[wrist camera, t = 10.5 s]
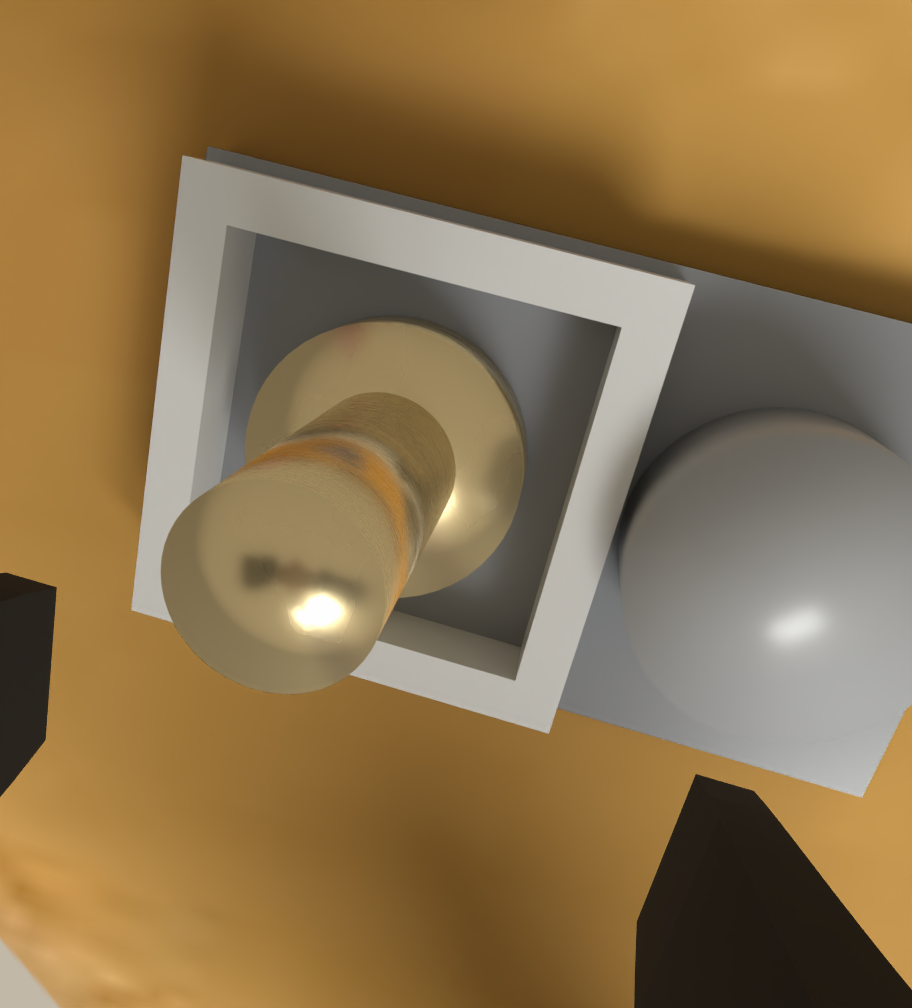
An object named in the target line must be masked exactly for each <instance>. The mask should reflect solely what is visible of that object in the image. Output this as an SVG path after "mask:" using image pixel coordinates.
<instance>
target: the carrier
mask: <svg viewBox="0 0 912 1008" xmlns="http://www.w3.org/2000/svg"><path fill="white" fill-rule="evenodd" d="M379 316H406V317H413V318H418V319H423V320H427V321H430V322H433V323H436V324H439V325H442V326H444V327H446V328H448V329H450V330H452V331H454V332H456V333H458V334H460V335H462V336H463V337H465V338H466V339H468V340H469V341H471V342H472V343H474V344H475V345H476V346H477V347H478V348H480V349H481V350H482V351H483V352H484V353H485V354H486V355H487V356H488V357H489V358H490V359H491V360H492V361H493V362H494V363H495V365H496V366H497V367H498V368H499V369H500V370H501V372H502V373H503V375H504V376H505V378H506V379H507V381H508V383H509V384H510V386H511V388H512V390H513V392H514V394H515V396H516V398H517V400H518V402H519V405H520V408H521V411H522V414H523V417H524V422H525V428H526V433H527V445H528V457H527V469H526V474H525V478H524V483H523V487H522V491H521V495H520V499H519V503H518V507H517V510H516V512H515V515H514V518H513V520H512V523H511V525H510V527H509V529H508V531H507V533H506V534H505V536H504V538H503V540H502V541H501V542H500V544H499V545H498V547H497V548H496V549H495V551H494V552H493V553H492V554H491V555H490V556H489V557H488V558H487V559H486V561H485V562H484V563H483V564H482V565H481V566H479V567H478V568H477V569H475V570H474V571H473V572H472V573H470V574H469V575H468V576H466V577H464V578H463V579H461V580H459V581H458V582H456V583H454V584H452V585H450V586H448V587H445V588H443V589H440V590H438V591H435V592H431V593H427V594H424V595H419V596H412V597H405V598H398V600H397V602H396V604H395V606H394V608H393V610H392V612H391V614H390V616H389V618H388V620H387V621H386V623H385V625H384V627H383V629H382V631H381V633H380V635H379V637H378V639H377V641H376V643H375V645H374V647H373V648H372V650H371V652H370V653H369V654H368V656H367V657H366V659H365V660H364V661H363V662H362V663H361V664H360V665H359V666H358V667H357V669H356V670H354V671H353V672H352V673H351V674H349V675H352V676H355V677H359V678H362V679H366V680H369V681H372V682H376V683H379V684H382V685H386V686H389V687H393V688H396V689H399V690H403V691H406V692H409V693H413V694H416V695H420V696H423V697H426V698H430V699H433V700H436V701H440V702H443V703H447V704H450V705H453V706H457V707H460V708H463V709H467V710H470V711H474V712H477V713H480V714H484V715H487V716H490V717H494V718H497V719H501V720H504V721H507V722H511V723H514V724H518V725H521V726H524V727H528V728H531V729H534V730H538V731H541V732H545V733H548V734H549V731H550V728H551V725H552V722H553V719H554V716H555V713H556V710H557V708H559V709H562V710H565V711H569V712H572V713H576V714H579V715H582V716H586V717H589V718H593V719H596V720H599V721H603V722H606V723H610V724H613V725H616V726H620V727H623V728H627V729H630V730H633V731H637V732H640V733H644V734H647V735H650V736H654V737H657V738H661V739H664V740H667V741H671V742H674V743H678V744H681V745H684V746H688V747H691V748H695V749H698V750H701V751H705V752H708V753H712V754H715V755H719V756H722V757H725V758H729V759H732V760H736V761H739V762H742V763H746V764H749V765H753V766H756V767H759V768H763V769H766V770H770V771H773V772H776V773H780V774H783V775H787V776H790V777H793V778H797V779H800V780H804V781H807V782H810V783H814V784H817V785H821V786H824V787H827V788H831V789H834V790H838V791H841V792H844V793H848V794H851V795H855V796H858V797H861V798H862V796H863V794H864V792H865V790H866V788H867V786H868V784H869V782H870V780H871V778H872V776H873V774H874V772H875V770H876V768H877V766H878V764H879V762H880V760H881V758H882V756H883V754H884V752H885V750H886V748H887V746H888V744H889V742H890V740H891V738H892V736H893V734H894V732H895V730H896V728H897V726H898V724H899V722H900V720H901V718H902V716H903V714H904V712H905V710H906V709H907V708H908V707H909V706H911V705H912V323H908V322H904V321H900V320H896V319H892V318H888V317H884V316H880V315H877V314H873V313H869V312H865V311H861V310H857V309H853V308H849V307H845V306H841V305H837V304H833V303H829V302H825V301H821V300H817V299H813V298H809V297H805V296H801V295H797V294H793V293H789V292H785V291H781V290H778V289H774V288H770V287H766V286H762V285H758V284H754V283H750V282H746V281H742V280H738V279H734V278H730V277H726V276H722V275H718V274H714V273H710V272H706V271H702V270H698V269H694V268H690V267H686V266H682V265H678V264H675V263H671V262H667V261H663V260H659V259H655V258H651V257H647V256H643V255H639V254H635V253H631V252H627V251H623V250H619V249H615V248H611V247H607V246H603V245H599V244H595V243H591V242H587V241H583V240H579V239H576V238H572V237H568V236H564V235H560V234H556V233H552V232H548V231H544V230H540V229H536V228H532V227H528V226H524V225H520V224H516V223H512V222H508V221H504V220H500V219H496V218H492V217H488V216H484V215H480V214H476V213H473V212H469V211H465V210H461V209H457V208H453V207H449V206H445V205H441V204H437V203H433V202H429V201H425V200H421V199H417V198H413V197H409V196H405V195H401V194H397V193H393V192H389V191H385V190H381V189H377V188H374V187H370V186H366V185H362V184H358V183H354V182H350V181H346V180H342V179H338V178H334V177H330V176H326V175H322V174H318V173H314V172H310V171H306V170H302V169H298V168H294V167H290V166H286V165H282V164H278V163H274V162H271V161H267V160H263V159H259V158H255V157H251V156H247V155H243V154H239V153H235V152H231V151H227V150H223V149H218V148H214V147H210V146H207V153H206V160H204V159H199V158H194V157H189V156H184V155H182V164H181V173H180V182H179V191H178V199H177V208H176V217H175V226H174V235H173V244H172V253H171V262H170V271H169V279H168V288H167V297H166V306H165V315H164V324H163V333H162V342H161V351H160V359H159V368H158V377H157V386H156V395H155V404H154V413H153V422H152V430H151V439H150V448H149V457H148V466H147V475H146V484H145V493H144V502H143V510H142V519H141V528H140V537H139V546H138V555H137V564H136V573H135V582H134V590H133V599H132V608H131V610H133V611H136V612H139V613H143V614H146V615H150V616H153V617H156V618H160V619H163V620H166V621H170V622H173V621H172V619H171V617H170V615H169V612H168V609H167V606H166V603H165V600H164V596H163V591H162V586H161V573H160V572H161V558H162V553H163V548H164V544H165V542H166V539H167V536H168V533H169V531H170V530H171V528H172V526H173V524H174V522H175V521H176V519H177V518H178V517H179V515H180V514H181V513H182V511H183V510H184V509H185V508H186V507H187V506H188V505H189V504H190V503H192V502H193V501H194V500H195V499H197V498H198V497H199V496H201V495H202V494H204V493H205V492H207V491H208V490H210V489H211V488H213V487H214V486H216V485H217V484H219V483H220V482H222V481H223V480H225V479H226V478H227V477H229V476H230V475H232V474H233V473H235V472H236V471H238V470H239V469H241V468H242V467H244V466H245V439H246V429H247V425H248V421H249V417H250V412H251V410H252V407H253V404H254V402H255V399H256V397H257V395H258V393H259V391H260V389H261V387H262V386H263V384H264V382H265V380H266V379H267V378H268V376H269V375H270V374H271V372H272V371H273V370H274V368H275V367H276V366H277V365H278V364H279V363H280V362H281V361H282V360H283V359H284V358H285V357H286V356H287V355H288V354H289V353H290V352H292V351H293V350H295V349H296V348H297V347H299V346H300V345H301V344H303V343H304V342H306V341H308V340H310V339H312V338H314V337H315V336H317V335H319V334H322V333H325V332H327V331H330V330H333V329H335V328H338V327H341V326H344V325H346V324H349V323H352V322H355V321H357V320H362V319H367V318H371V317H379Z"/></svg>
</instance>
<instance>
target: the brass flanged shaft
mask: <svg viewBox="0 0 912 1008" xmlns="http://www.w3.org/2000/svg"><path fill="white" fill-rule="evenodd" d="M527 457H528V445H527V433H526V428H525V422H524V417H523V414H522V411H521V408H520V405H519V402H518V400H517V398H516V396H515V394H514V392H513V390H512V388H511V386H510V384H509V383H508V381H507V379H506V378H505V376H504V375H503V373H502V372H501V370H500V369H499V368H498V367H497V366H496V365H495V363H494V362H493V361H492V360H491V359H490V358H489V357H488V356H487V355H486V354H485V353H484V352H483V351H482V350H481V349H480V348H478V347H477V346H476V345H475V344H474V343H472V342H471V341H469V340H468V339H466V338H465V337H463V336H462V335H460V334H458V333H456V332H454V331H452V330H450V329H448V328H446V327H444V326H442V325H439V324H436V323H433V322H430V321H427V320H423V319H418V318H413V317H406V316H379V317H371V318H367V319H362V320H357V321H355V322H352V323H349V324H346V325H344V326H341V327H338V328H335V329H333V330H330V331H327V332H325V333H322V334H319V335H317V336H315V337H314V338H312V339H310V340H308V341H306V342H304V343H303V344H301V345H300V346H299V347H297V348H296V349H295V350H293V351H292V352H290V353H289V354H288V355H287V356H286V357H285V358H284V359H283V360H282V361H281V362H280V363H279V364H278V365H277V366H276V367H275V368H274V370H273V371H272V372H271V374H270V375H269V376H268V378H267V379H266V380H265V382H264V384H263V386H262V387H261V389H260V391H259V393H258V395H257V397H256V399H255V402H254V404H253V407H252V410H251V412H250V417H249V421H248V425H247V429H246V439H245V466H244V467H242V468H241V469H239V470H238V471H236V472H235V473H233V474H232V475H230V476H229V477H227V478H226V479H225V480H223V481H222V482H220V483H219V484H217V485H216V486H214V487H213V488H211V489H210V490H208V491H207V492H205V493H204V494H202V495H201V496H199V497H198V498H197V499H195V500H194V501H193V502H192V503H190V504H189V505H188V506H187V507H186V508H185V509H184V510H183V511H182V513H181V514H180V515H179V517H178V518H177V519H176V521H175V522H174V524H173V526H172V528H171V530H170V531H169V533H168V536H167V539H166V542H165V544H164V548H163V553H162V558H161V572H160V573H161V586H162V591H163V596H164V600H165V603H166V606H167V609H168V612H169V615H170V617H171V619H172V621H173V623H174V625H175V627H176V629H177V630H178V632H179V633H180V635H181V637H182V638H183V639H184V641H185V642H186V643H187V645H188V646H189V647H190V648H191V650H192V651H193V652H194V653H195V654H196V655H197V656H198V657H199V658H200V659H201V660H202V661H204V662H205V663H206V664H207V665H209V666H210V667H211V668H212V669H214V670H215V671H217V672H218V673H220V674H221V675H223V676H224V677H226V678H228V679H230V680H232V681H234V682H236V683H238V684H241V685H243V686H246V687H249V688H251V689H255V690H259V691H263V692H268V693H276V694H300V693H308V692H312V691H316V690H320V689H323V688H326V687H328V686H331V685H333V684H335V683H337V682H338V681H340V680H342V679H344V678H345V677H347V676H348V675H349V674H351V673H352V672H353V671H354V670H356V669H357V667H358V666H359V665H360V664H361V663H362V662H363V661H364V660H365V659H366V657H367V656H368V654H369V653H370V652H371V650H372V648H373V647H374V645H375V643H376V641H377V639H378V637H379V635H380V633H381V631H382V629H383V627H384V625H385V623H386V621H387V620H388V618H389V616H390V614H391V612H392V610H393V608H394V606H395V604H396V602H397V600H398V598H405V597H412V596H419V595H424V594H427V593H431V592H435V591H438V590H440V589H443V588H445V587H448V586H450V585H452V584H454V583H456V582H458V581H459V580H461V579H463V578H464V577H466V576H468V575H469V574H470V573H472V572H473V571H474V570H475V569H477V568H478V567H479V566H481V565H482V564H483V563H484V562H485V561H486V559H487V558H488V557H489V556H490V555H491V554H492V553H493V552H494V551H495V549H496V548H497V547H498V545H499V544H500V542H501V541H502V540H503V538H504V536H505V534H506V533H507V531H508V529H509V527H510V525H511V523H512V520H513V518H514V515H515V512H516V510H517V507H518V503H519V499H520V495H521V491H522V487H523V483H524V478H525V474H526V469H527Z"/></svg>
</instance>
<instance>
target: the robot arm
mask: <svg viewBox="0 0 912 1008" xmlns="http://www.w3.org/2000/svg"><path fill="white" fill-rule="evenodd" d="M56 589H57V587H53V586H50V585H46V584H43V583H40V582H36V581H33V580H29V579H26V578H23V577H19V576H16V575H12V574H9V573H0V797H1V795H2V794H3V793H4V792H5V791H6V789H7V788H8V787H9V786H10V785H11V783H12V782H13V781H14V780H15V778H16V777H17V776H18V775H19V773H20V772H21V771H22V769H23V768H24V767H25V766H26V764H27V763H28V762H29V760H30V759H31V758H32V757H33V755H34V754H35V753H36V751H37V750H38V749H39V748H40V746H41V745H42V744H43V742H44V741H45V739H46V726H47V712H48V698H49V685H50V671H51V657H52V644H53V630H54V616H55V603H56ZM634 1008H912V990H911V988H910V987H909V986H908V985H907V984H906V982H905V981H904V980H903V979H902V978H901V976H900V975H899V974H898V973H897V971H896V970H895V969H894V968H893V967H892V965H891V964H890V963H889V962H888V960H887V959H886V958H885V957H884V955H883V954H882V953H881V952H880V950H879V949H878V948H877V947H876V945H875V944H874V943H873V942H872V940H871V939H870V938H869V937H868V935H867V934H866V933H865V932H864V930H863V929H862V928H861V926H860V925H859V924H858V923H857V921H856V920H855V919H854V918H853V916H852V915H851V914H850V912H849V911H848V910H847V909H846V907H845V906H844V905H843V903H842V902H841V901H840V900H839V898H838V897H837V896H836V895H835V893H834V892H833V891H832V889H831V888H830V887H829V885H828V884H827V883H826V882H825V880H824V879H823V878H822V876H821V875H820V874H819V872H818V871H817V870H816V869H815V867H814V866H813V865H812V863H811V862H810V861H809V859H808V858H807V857H806V855H805V854H804V853H803V852H802V850H801V849H800V848H799V846H798V845H797V844H796V842H795V841H794V840H793V839H792V837H791V836H790V835H789V833H788V832H787V831H786V830H785V828H784V827H783V826H782V824H781V823H780V822H779V821H778V819H777V818H776V817H775V816H774V814H773V813H772V812H771V811H770V809H769V808H768V807H767V806H766V805H765V803H764V802H763V801H762V800H761V799H760V798H759V796H758V795H757V794H756V793H755V792H754V791H752V790H748V789H745V788H741V787H738V786H735V785H731V784H728V783H724V782H721V781H717V780H714V779H711V778H707V777H704V776H700V775H697V774H696V775H695V778H694V780H693V783H692V785H691V788H690V790H689V793H688V795H687V798H686V800H685V803H684V805H683V808H682V810H681V813H680V815H679V818H678V820H677V823H676V825H675V828H674V830H673V833H672V835H671V838H670V840H669V843H668V845H667V848H666V850H665V853H664V855H663V858H662V860H661V863H660V865H659V868H658V870H657V873H656V875H655V878H654V880H653V883H652V885H651V888H650V890H649V893H648V895H647V898H646V900H645V903H644V905H643V908H642V910H641V913H640V915H639V918H638V920H637V935H636V961H635V1004H634Z"/></svg>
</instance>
